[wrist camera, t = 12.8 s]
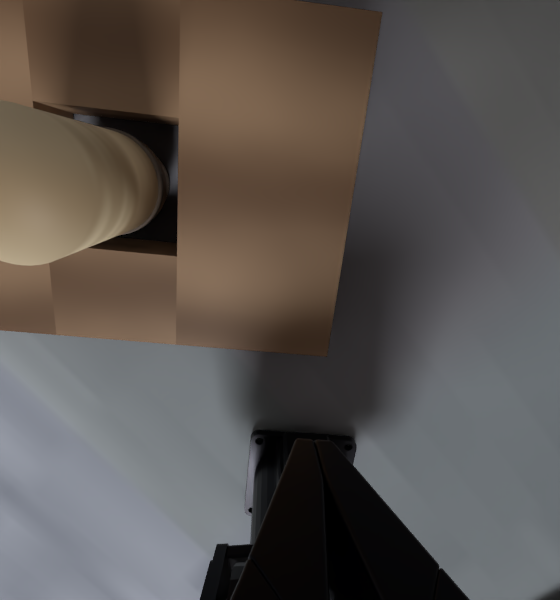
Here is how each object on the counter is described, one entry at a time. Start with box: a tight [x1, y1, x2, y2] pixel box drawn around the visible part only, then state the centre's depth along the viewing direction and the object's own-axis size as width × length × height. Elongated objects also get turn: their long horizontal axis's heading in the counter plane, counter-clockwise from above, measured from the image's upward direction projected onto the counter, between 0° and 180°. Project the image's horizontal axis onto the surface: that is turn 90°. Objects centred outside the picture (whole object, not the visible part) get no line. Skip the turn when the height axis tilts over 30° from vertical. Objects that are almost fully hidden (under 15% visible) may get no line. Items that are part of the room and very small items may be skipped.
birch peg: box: [0, 100, 170, 266], centre depth 13 cm, size 4×4×9 cm
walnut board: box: [0, 0, 382, 357], centre depth 16 cm, size 14×20×3 cm
